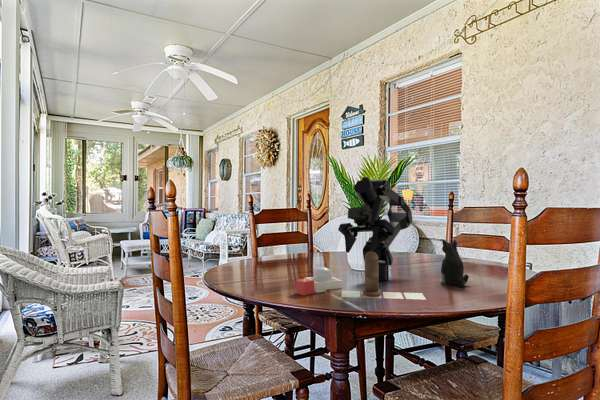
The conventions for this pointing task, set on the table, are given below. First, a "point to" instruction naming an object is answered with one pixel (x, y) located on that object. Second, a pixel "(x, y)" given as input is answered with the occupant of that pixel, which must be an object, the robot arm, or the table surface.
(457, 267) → the figurine
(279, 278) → the table surface
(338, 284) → the base
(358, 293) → the track board
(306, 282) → the red die
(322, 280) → the dome
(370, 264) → the pawn
